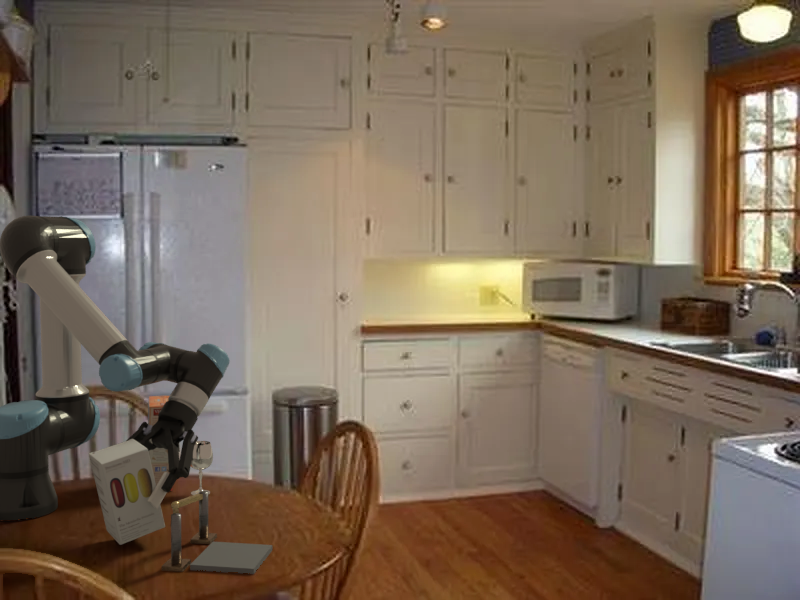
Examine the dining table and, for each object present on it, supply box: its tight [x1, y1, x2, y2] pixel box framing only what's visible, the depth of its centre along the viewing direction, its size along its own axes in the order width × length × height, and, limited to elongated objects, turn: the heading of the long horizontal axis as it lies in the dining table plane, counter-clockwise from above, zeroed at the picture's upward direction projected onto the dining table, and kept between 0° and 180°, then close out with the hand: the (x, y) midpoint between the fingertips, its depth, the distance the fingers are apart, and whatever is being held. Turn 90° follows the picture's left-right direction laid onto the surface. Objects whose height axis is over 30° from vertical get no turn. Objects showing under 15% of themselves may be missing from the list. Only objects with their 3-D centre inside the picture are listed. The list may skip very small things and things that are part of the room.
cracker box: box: [147, 395, 174, 492], centre depth 207 cm, size 14×6×21 cm, turn 17°
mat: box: [189, 541, 273, 575], centre depth 160 cm, size 12×12×1 cm
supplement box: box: [88, 439, 166, 546], centre depth 167 cm, size 10×9×17 cm
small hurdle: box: [161, 490, 218, 573], centre depth 163 cm, size 6×18×10 cm, turn 173°
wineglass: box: [190, 440, 214, 496], centre depth 201 cm, size 6×6×12 cm
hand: (128, 499), depth 167 cm, fingers closed on supplement box, 12 cm apart
